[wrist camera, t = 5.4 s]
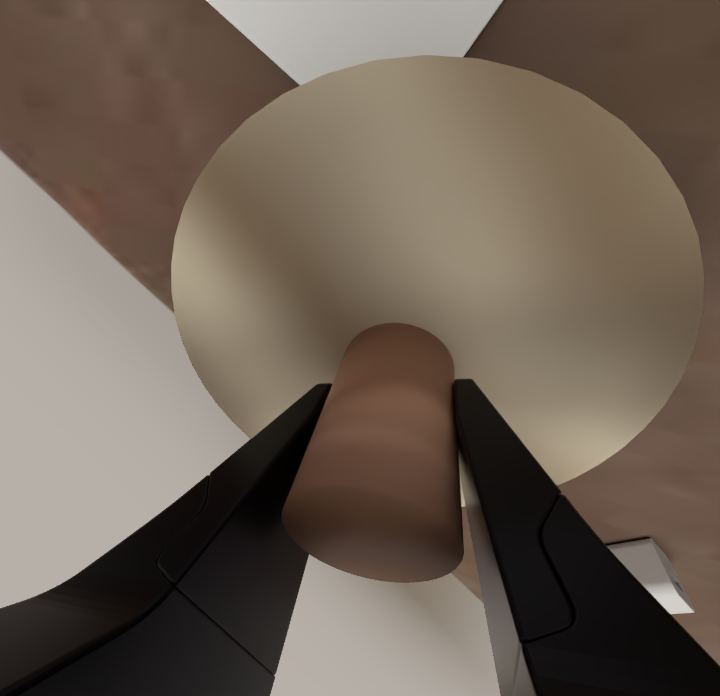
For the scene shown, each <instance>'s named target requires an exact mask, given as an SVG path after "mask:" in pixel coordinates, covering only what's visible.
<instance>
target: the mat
mask: <svg viewBox="0 0 720 696" xmlns="http://www.w3.org/2000/svg"><path fill="white" fill-rule="evenodd" d="M206 1H207V2H208V3H209V4H211V5H212V6H213V7H214V8H215V9H216V10H217V11H218V12H219V13H220V14H222V15H223V16H224V17H225V18H226V19H227V20H228V21H229V22H230V23H232V24H233V25H234V26H235V27H236V28H237V29H238V30H239V31H240V32H241V33H243V34H244V35H245V36H246V37H247V38H248V39H249V40H250V41H251V42H253V43H254V44H255V45H256V46H257V47H258V48H259V49H260V50H261V51H262V52H264V53H265V54H266V55H267V56H268V57H269V58H270V59H271V60H272V61H274V62H275V63H276V64H277V65H278V66H279V67H280V68H281V69H282V70H283V71H285V72H286V73H287V74H288V75H289V76H290V77H291V78H292V79H293V80H295V81H296V82H297V83H298V84H299V85H300V86H301V85H303V84H305V83H307V82H309V81H311V80H313V79H315V78H318V77H320V76H322V75H324V74H327V73H330V72H334V71H337V70H341V69H344V68H348V67H352V66H355V65H359V64H362V63H366V62H369V61H373V60H382V59H391V58H401V57H411V56H420V55H434V56H449V57H464V56H465V54H466V53H467V52H468V50H469V49H470V47H471V46H472V44H473V43H474V42H475V40H476V39H477V37H478V36H479V34H480V33H481V32H482V30H483V29H484V27H485V26H486V25H487V23H488V22H489V20H490V19H491V17H492V16H493V15H494V13H495V12H496V10H497V9H498V8H499V6H500V5H501V3H502V2H503V0H206Z"/></svg>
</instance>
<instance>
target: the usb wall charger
mask: <svg viewBox="0 0 720 696" xmlns="http://www.w3.org/2000/svg"><path fill="white" fill-rule="evenodd" d="M607 547H608V548H609V549H610V550H611V552H612V553H613V554H614V555H615V556H616V557H617V558H618V559H619V560H620V561H621V562H622V564H623V565H624V566H625V567H626V568H627V569H628V570H629V571H630V572H631V573H632V574H633V575H634V577H635V578H636V579H637V580H638V581H639V582H640V583H641V584H642V585H643V586H644V587H645V588H646V589H647V590H648V591H649V592H650V593H651V594H652V595H653V597H654V598H655V599H656V600H657V601H658V602H659V603H660V604H661V605H662V606H663V607H664V608H665V609H666V610H667V611H668V612H669V613H670V614H679V613H694V612H695V610H694V608H693V606H692V604H691V602H690V600H689V598H688V596H687V594H686V592H685V590H684V588H683V586H682V584H681V582H680V580H679V578H678V576H677V574H676V572H675V570H674V569H673V567H672V565H671V563H670V561H669V560H668V558H667V557H666V555H665V554H664V553H663V552H662V551H661V549H660V548H659V547H658V546H657V545H656V544H655V543H654V541H653V540H652V539H651V538H649V539H643V540H637V541H631V542H625V543H619V544H613V545H608V546H607Z"/></svg>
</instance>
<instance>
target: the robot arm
mask: <svg viewBox="0 0 720 696" xmlns="http://www.w3.org/2000/svg"><path fill="white" fill-rule="evenodd" d="M331 387H332V384H331V383H319V384H317V385H315V386H314V387H313V388H312V389H310V390H309V391H308V392H307V393H306V394H304V395H303V396H302V397H301V398H300V399H298V400H297V401H296V402H295V403H294V404H292V405H291V406H290V407H289V408H288V409H286V410H285V411H284V412H283V413H282V414H280V415H279V416H278V417H277V418H276V419H274V420H273V421H272V422H271V423H270V424H268V425H267V426H266V427H265V428H264V429H262V430H261V431H260V432H259V433H258V434H256V435H255V436H254V437H253V438H252V439H250V440H249V441H248V442H247V443H246V444H244V445H243V446H242V447H241V448H240V449H238V450H237V451H236V452H235V453H234V454H232V455H231V456H230V457H229V458H228V459H226V460H225V461H224V462H223V463H222V464H220V465H219V466H218V467H217V468H216V469H214V470H213V471H212V472H211V473H210V476H209V475H208V476H206V477H205V478H204V479H202V480H201V481H200V482H199V483H197V484H196V485H195V486H194V487H193V488H191V489H190V490H189V491H188V492H186V493H185V494H184V495H183V496H181V497H180V498H179V499H178V500H176V501H175V502H174V503H173V504H172V505H170V506H169V507H168V508H166V509H165V510H164V511H162V512H161V513H160V514H158V515H157V516H156V517H154V518H153V519H152V520H150V521H149V522H148V523H146V524H145V525H144V526H142V527H141V528H140V529H138V530H137V531H135V532H134V533H133V534H131V535H130V536H129V537H127V538H126V539H125V540H123V541H122V542H121V543H119V544H118V545H116V546H115V547H114V548H112V549H111V550H110V551H108V552H107V553H105V554H104V555H103V556H101V557H100V558H99V559H97V560H96V561H95V562H93V563H92V564H90V565H89V566H88V567H86V568H85V569H84V570H82V571H81V572H79V573H78V574H76V575H75V576H73V577H72V578H70V579H69V580H67V581H65V582H64V583H62V584H60V585H58V586H56V587H55V588H52V589H50V590H49V591H46V592H44V593H42V594H39V595H37V596H35V597H32V598H30V599H27V600H24V601H21V602H18V603H15V604H12V605H9V606H6V607H3V608H0V696H270V693H271V690H272V686H273V683H274V679H275V676H274V675H275V674H276V671H277V667H278V664H279V660H280V656H281V653H282V649H283V646H284V642H285V638H286V635H287V631H288V628H289V624H290V620H291V617H292V613H293V610H294V606H295V602H296V599H297V595H298V592H299V588H300V584H301V581H302V577H303V574H304V570H305V566H306V563H307V559H308V556H309V553H307V552H306V551H304V550H303V549H302V548H301V547H300V546H298V545H297V544H296V543H295V542H294V541H293V540H292V538H291V537H290V536H289V534H288V533H287V531H286V529H285V528H284V525H283V522H282V510H283V507H284V505H285V502H286V500H287V497H288V495H289V492H290V490H291V487H292V485H293V482H294V480H295V477H296V475H297V472H298V470H299V467H300V465H301V462H302V460H303V457H304V455H305V452H306V450H307V447H308V445H309V442H310V440H311V437H312V435H313V432H314V430H315V427H316V424H317V422H318V419H319V417H320V414H321V412H322V409H323V407H324V404H325V402H326V399H327V397H328V394H329V392H330V389H331ZM454 395H455V415H456V428H457V438H458V451H459V470H460V477H461V484H462V489H463V495H464V500H465V505H466V511H467V516H468V521H469V527H470V532H471V538H472V543H473V548H474V554H475V559H476V565H477V570H478V575H479V581H480V586H481V592H482V597H483V602H484V608H485V613H486V618H487V624H488V629H489V635H490V640H491V645H492V651H493V656H494V661H495V667H496V672H497V678H498V683H499V688H500V694H501V696H720V666H719V665H718V664H717V663H716V662H715V660H714V659H713V658H712V657H711V656H710V655H709V654H708V653H707V652H706V651H705V650H704V649H703V648H702V647H701V646H700V645H699V644H698V643H697V642H696V641H695V640H694V638H693V637H692V636H691V635H690V634H689V633H688V632H687V631H686V630H685V629H684V628H683V627H682V626H681V625H680V624H679V623H678V622H677V621H676V620H675V619H674V617H673V616H672V615H671V614H670V613H669V612H668V611H667V610H666V609H665V608H664V607H663V606H662V605H661V604H660V603H659V602H658V601H657V600H656V599H655V598H654V597H653V595H652V594H651V593H650V592H649V591H648V590H647V589H646V588H645V587H644V586H643V585H642V584H641V583H640V582H639V581H638V580H637V579H636V578H635V577H634V575H633V574H632V573H631V572H630V571H629V570H628V569H627V568H626V567H625V566H624V565H623V564H622V562H621V561H620V560H619V559H618V558H617V557H616V556H615V555H614V554H613V553H612V552H611V550H610V549H609V548H608V547H607V546H606V545H605V544H604V543H603V542H602V540H601V539H600V538H599V537H598V536H597V534H596V533H595V532H594V531H593V530H592V528H591V527H590V526H589V525H588V524H587V522H586V521H585V520H584V519H583V518H582V517H581V515H580V514H579V513H578V512H577V510H576V509H575V508H574V507H573V505H572V504H571V503H570V501H569V500H568V499H567V498H566V496H565V495H561V490H560V489H559V488H558V487H557V485H556V484H555V483H554V481H553V480H552V479H551V478H550V476H549V475H548V474H547V473H546V471H545V470H544V469H543V468H542V466H541V465H540V464H539V462H538V461H537V460H536V459H535V457H534V456H533V455H532V454H531V452H530V451H529V450H528V449H527V447H526V446H525V445H524V444H523V442H522V441H521V440H520V438H519V437H518V436H517V435H516V433H515V432H514V431H513V430H512V428H511V427H510V426H509V425H508V423H507V422H506V421H505V419H504V418H503V417H502V416H501V414H500V413H499V412H498V411H497V409H496V408H495V407H494V406H493V404H492V403H491V402H490V400H489V399H488V398H487V397H486V395H485V394H484V393H483V392H482V390H481V389H480V388H479V387H478V385H477V384H476V383H475V381H474V380H473V379H470V378H469V379H455V381H454Z"/></svg>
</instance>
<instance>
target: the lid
mask: <svg viewBox="0 0 720 696" xmlns="http://www.w3.org/2000/svg"><path fill="white" fill-rule="evenodd" d="M704 276H705V275H704V269H703V263H702V256H701V250H700V244H699V238H698V234H697V232H696V229H695V226H694V224H693V221H692V218H691V216H690V213H689V211H688V208H687V205H686V203H685V200H684V197H683V196H682V194H681V192H680V191H679V189H678V188H677V186H676V185H675V183H674V181H673V180H672V178H671V177H670V175H669V174H668V172H667V171H666V169H665V167H664V166H663V164H662V163H661V161H660V160H659V158H658V157H657V156H656V155H655V154H654V153H653V152H652V151H651V150H650V149H649V148H648V147H647V146H646V145H645V144H644V143H643V142H642V141H641V139H640V138H639V137H638V136H637V135H636V134H635V133H634V132H633V131H632V130H631V129H630V128H629V127H628V126H627V125H626V124H625V123H624V122H622V121H621V120H619V119H618V118H617V117H615V116H614V115H612V114H611V113H609V112H608V111H606V110H605V109H604V108H602V107H601V106H599V105H598V104H596V103H595V102H594V101H592V100H591V99H589V98H588V97H586V96H585V95H583V94H582V93H580V92H577V91H575V90H573V89H571V88H569V87H566V86H564V85H562V84H560V83H557V82H555V81H553V80H551V79H548V78H546V77H544V76H542V75H539V74H537V73H535V72H532V71H528V70H524V69H520V68H516V67H512V66H508V65H504V64H500V63H496V62H492V61H488V60H484V59H479V58H464V57H449V56H434V55H420V56H411V57H401V58H391V59H382V60H373V61H369V62H366V63H362V64H359V65H355V66H352V67H348V68H344V69H341V70H337V71H334V72H330V73H327V74H324V75H322V76H320V77H318V78H315V79H313V80H311V81H309V82H307V83H305V84H303V85H301V86H299V87H296V88H294V89H292V90H290V91H288V92H286V93H284V94H282V95H281V96H279V97H278V98H276V99H275V100H274V101H272V102H271V103H269V104H268V105H266V106H265V107H264V108H262V109H261V110H259V111H258V112H256V113H255V114H254V115H252V116H251V117H249V118H248V119H247V120H246V121H245V122H244V123H243V124H242V125H241V126H240V127H239V128H238V129H237V130H236V131H235V132H234V133H233V134H232V135H231V136H230V137H229V138H228V139H227V140H226V141H225V142H224V143H223V144H222V145H221V146H220V147H219V148H218V150H217V151H216V152H215V154H214V155H213V157H212V158H211V159H210V161H209V162H208V164H207V165H206V166H205V168H204V169H203V171H202V172H201V174H200V175H199V176H198V178H197V180H196V182H195V185H194V187H193V189H192V191H191V193H190V195H189V197H188V199H187V201H186V203H185V205H184V208H183V211H182V215H181V218H180V221H179V225H178V228H177V232H176V235H175V240H174V248H173V256H172V263H171V282H172V298H173V305H174V311H175V317H176V321H177V324H178V328H179V331H180V335H181V338H182V342H183V344H184V346H185V349H186V351H187V354H188V356H189V358H190V361H191V363H192V365H193V367H194V369H195V371H196V372H197V374H198V376H199V378H200V379H201V381H202V383H203V385H204V386H205V388H206V389H207V390H208V392H209V393H210V395H211V396H212V397H213V399H214V400H215V402H216V403H217V404H218V406H219V407H220V408H221V409H222V410H223V411H224V412H225V413H226V415H227V416H228V417H229V418H230V419H231V420H232V421H233V422H234V423H235V424H236V425H237V426H238V427H239V428H240V429H241V430H242V431H243V432H244V433H245V434H246V435H247V436H248V437H249V438H251V439H252V438H253V437H254V436H255V435H256V434H258V433H259V432H260V431H261V430H262V429H264V428H265V427H266V426H267V425H268V424H270V423H271V422H272V421H273V420H274V419H276V418H277V417H278V416H279V415H280V414H282V413H283V412H284V411H285V410H286V409H288V408H289V407H290V406H291V405H292V404H294V403H295V402H296V401H297V400H298V399H300V398H301V397H302V396H303V395H304V394H306V393H307V392H308V391H309V390H310V389H312V388H313V387H314V386H315V385H317V384H319V383H331V384H332V387H331V389H330V392H329V394H328V397H327V399H326V402H325V404H324V407H323V409H322V412H321V414H320V417H319V419H318V422H317V424H316V427H315V430H314V432H313V435H312V437H311V440H310V442H309V445H308V447H307V450H306V452H305V455H304V457H303V460H302V462H301V465H300V467H299V470H298V472H297V475H296V477H295V480H294V482H293V485H292V487H291V490H290V492H289V495H288V497H287V500H286V502H285V505H284V507H283V510H282V522H283V525H284V528H285V529H286V531H287V533H288V534H289V536H290V537H291V538H292V540H293V541H294V542H295V543H296V544H297V545H298V546H300V547H301V548H302V549H303V550H304V551H306V552H307V553H309V554H310V555H312V556H313V557H315V558H317V559H318V560H320V561H322V562H324V563H326V564H328V565H330V566H332V567H335V568H337V569H339V570H342V571H345V572H347V573H351V574H354V575H357V576H361V577H365V578H370V579H375V580H380V581H388V582H403V583H406V582H407V583H409V582H422V581H429V580H433V579H437V578H440V577H443V576H445V575H447V574H449V573H450V572H452V571H453V570H455V569H456V568H457V567H458V566H459V564H460V563H461V561H462V559H463V555H464V546H463V527H462V508H461V507H463V506H466V505H465V500H464V495H463V489H462V484H461V477H460V470H459V451H458V438H457V428H456V415H455V395H454V381H455V379H469V378H470V379H473V380H474V381H475V383H476V384H477V385H478V387H479V388H480V389H481V390H482V392H483V393H484V394H485V395H486V397H487V398H488V399H489V400H490V402H491V403H492V404H493V406H494V407H495V408H496V409H497V411H498V412H499V413H500V414H501V416H502V417H503V418H504V419H505V421H506V422H507V423H508V425H509V426H510V427H511V428H512V430H513V431H514V432H515V433H516V435H517V436H518V437H519V438H520V440H521V441H522V442H523V444H524V445H525V446H526V447H527V449H528V450H529V451H530V452H531V454H532V455H533V456H534V457H535V459H536V460H537V461H538V462H539V464H540V465H541V466H542V468H543V469H544V470H545V471H546V473H547V474H548V475H549V476H550V478H551V479H552V480H553V481H554V483H555V484H556V485H559V484H562V483H564V482H566V481H569V480H571V479H573V478H576V477H577V476H579V475H581V474H583V473H585V472H586V471H588V470H590V469H592V468H594V467H595V466H597V465H599V464H601V463H602V462H603V461H605V460H606V459H608V458H609V457H610V456H612V455H613V454H615V453H616V452H618V451H619V450H620V449H622V448H623V447H624V446H625V445H626V444H628V443H629V442H630V441H631V440H632V439H633V438H634V437H635V436H636V435H638V434H639V433H640V432H641V431H642V430H643V429H644V428H645V427H646V426H647V425H648V424H649V423H650V421H651V420H652V419H653V418H654V417H655V416H656V414H657V413H658V412H659V411H660V410H661V409H662V407H663V406H664V405H665V404H666V402H667V400H668V399H669V397H670V396H671V394H672V392H673V391H674V389H675V388H676V386H677V385H678V383H679V381H680V380H681V378H682V376H683V374H684V372H685V369H686V367H687V364H688V362H689V360H690V357H691V355H692V353H693V350H694V348H695V345H696V341H697V336H698V332H699V328H700V323H701V319H702V315H703V301H704Z"/></svg>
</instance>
